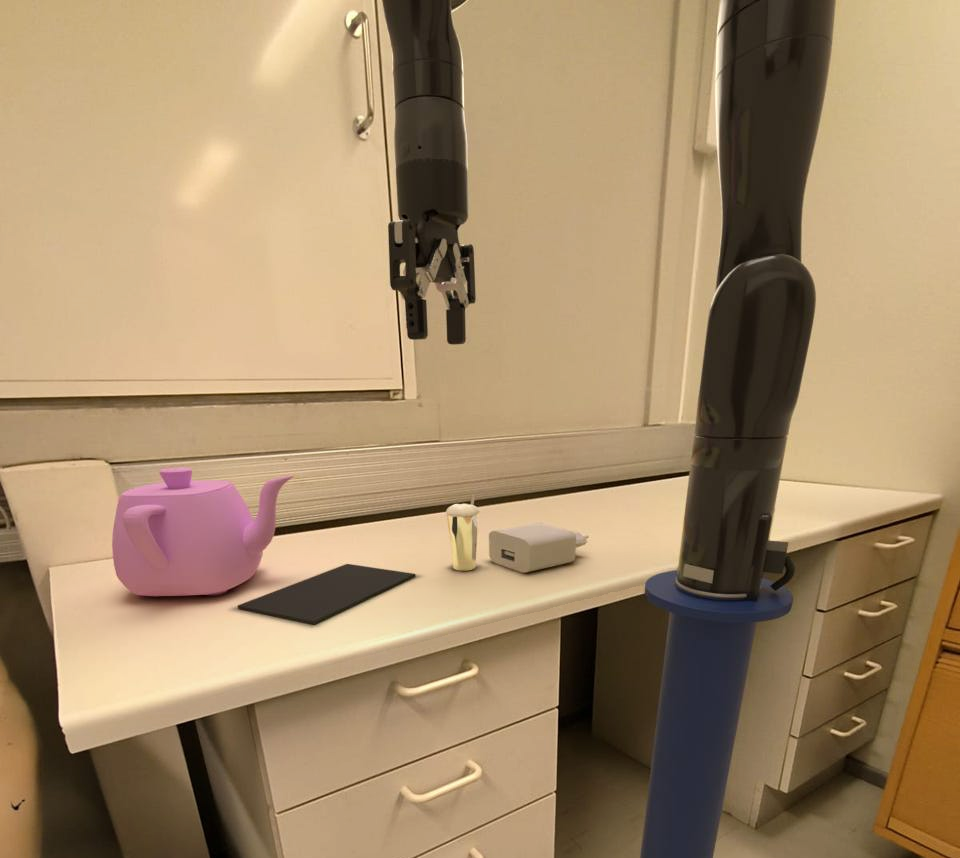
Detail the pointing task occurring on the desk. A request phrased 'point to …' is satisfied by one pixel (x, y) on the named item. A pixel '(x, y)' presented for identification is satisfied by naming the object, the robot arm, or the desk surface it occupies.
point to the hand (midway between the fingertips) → (438, 341)
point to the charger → (534, 546)
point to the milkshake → (463, 534)
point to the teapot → (190, 535)
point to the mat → (326, 593)
